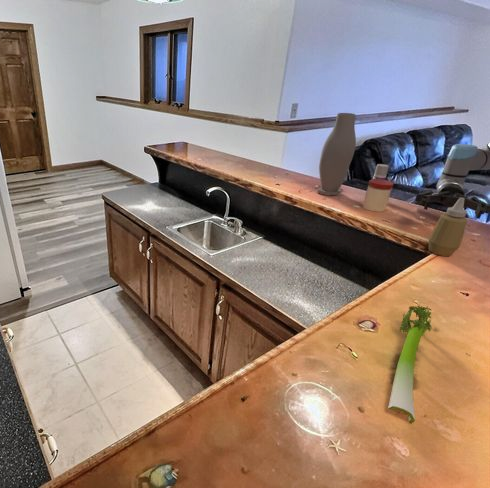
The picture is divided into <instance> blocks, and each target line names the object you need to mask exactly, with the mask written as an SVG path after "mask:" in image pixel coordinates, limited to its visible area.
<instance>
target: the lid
mask: <svg viewBox="0 0 490 488" xmlns="http://www.w3.org/2000/svg"><path fill="white" fill-rule="evenodd" d="M394 184H395V183H394V182H393V181H390V180H387V179H385V180H382V179H373V178H372V179H370V180H368V185H369V186H371V187H373V188H377V189H392V190H393V187H394Z"/></svg>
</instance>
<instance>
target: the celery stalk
mask: <svg viewBox="0 0 490 488" xmlns="http://www.w3.org/2000/svg"><path fill="white" fill-rule="evenodd" d="M431 311H432V308H430V307H429V306H426V307H425V306H423V305H421V306H420V305H417V306H414V305H413V306H412V305H410V306H409V307H408V310H407V312H406V314H405V312H403V314H402V321H401V324H400V326H399V329H398V330H399V332H401V333H403V334H405V333H407V335H406V338H405V341H404V344H403V347H402V350H401V353H400V356H399V359H398V362H397V365H396V369H395V374H394V378H393V383H392V387H391V392H390V398H389V403H388V407H387V409H388V410H390V411H393V410H395V409H396V410H398V411H401V412H403V413H406V414H407V415H408V422H409V424H410V425H411V424H413V423H414V422H415V421H416V416H415V403H414V375H415V374H414V373H415V363H416V357H417V351H418V347H419V345H420V342H421V339H422V337H423V336H424V334H425V333H426V332H427V331H428V332H430V331H432V330H433V326H432V325H431V323H432V316H431V315H432V312H431ZM412 313H415V317H416V318H417V319H415V320H414V319H411V317H412ZM412 325H413V326H412Z"/></svg>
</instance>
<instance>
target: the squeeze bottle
mask: <svg viewBox="0 0 490 488" xmlns="http://www.w3.org/2000/svg"><path fill="white" fill-rule="evenodd" d="M464 199H465V198H461V197H460V198H459V199H458V201H457V202H456V203H455V205H452V206H449V207H447V209H446V211H445V213H442V214H440V217H439V218H438V220H437V222H436V224H435V226H434V227H433V229H432V232H431V233H430V235H429V237H428V240H427V241H428V251H429V252H431V253H432V254H435V255H438V256H441V257H450V256H452V255H453V254H454V253H455V252H456V251H457V250H458V249H459V248H460V247H461V244H462V241H463V237H464V233H465V230H466V226H467V223H468V219H467V218H466V215H467V213H468V211H467V210H466V209H464V208H465V207H464Z"/></svg>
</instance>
